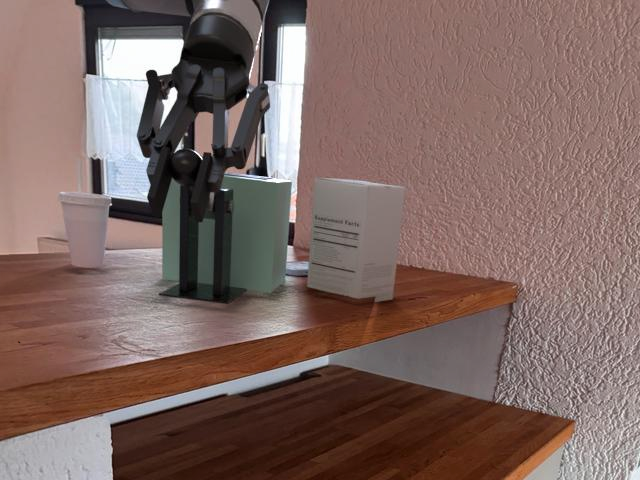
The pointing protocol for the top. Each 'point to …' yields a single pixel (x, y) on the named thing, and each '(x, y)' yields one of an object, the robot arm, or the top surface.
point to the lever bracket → (189, 252)
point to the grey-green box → (237, 233)
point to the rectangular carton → (355, 238)
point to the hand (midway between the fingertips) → (175, 209)
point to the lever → (189, 174)
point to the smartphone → (297, 268)
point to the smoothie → (85, 224)
